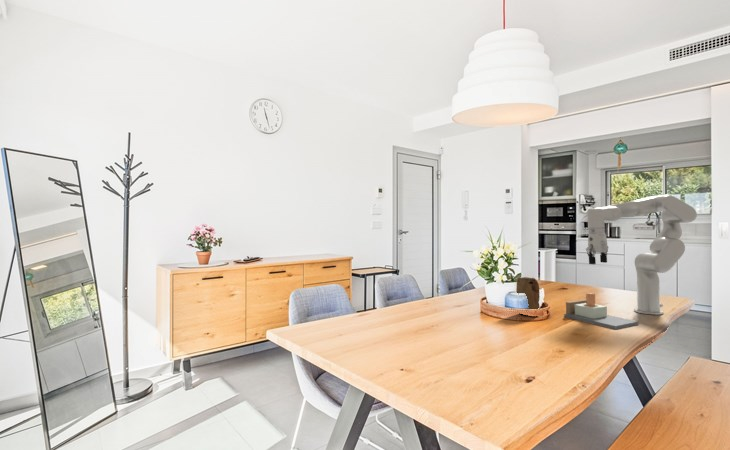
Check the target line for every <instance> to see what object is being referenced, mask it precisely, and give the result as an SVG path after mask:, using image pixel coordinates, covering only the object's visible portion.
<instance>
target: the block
mask: <svg viewBox="0 0 730 450" xmlns="http://www.w3.org/2000/svg"><path fill="white" fill-rule="evenodd" d="M516 292H517V293H525V294H526V296H527V299H528V304H529V306H528V307H529V309H538V308H539V309H540V306H541V305H540V297H541V296H540V294H541V293H540V285H539V282H538V280H537V279H536V278H535V277H530V276H529V277H527V276H522V277H517V278H516Z"/></svg>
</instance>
